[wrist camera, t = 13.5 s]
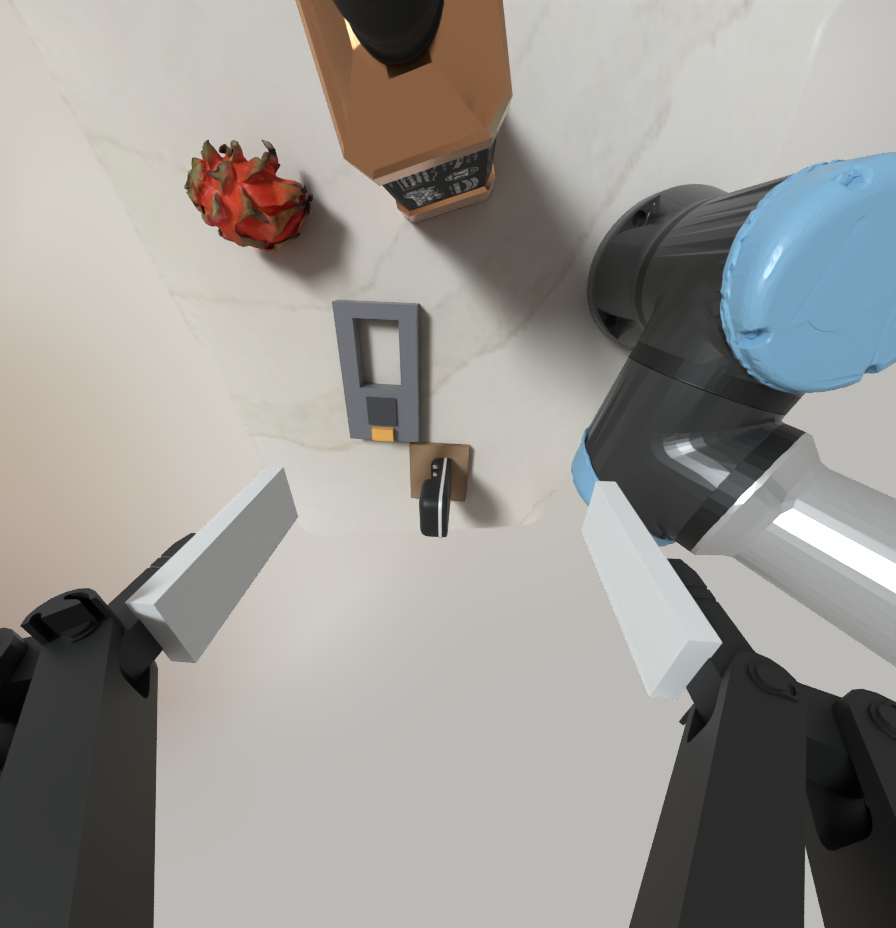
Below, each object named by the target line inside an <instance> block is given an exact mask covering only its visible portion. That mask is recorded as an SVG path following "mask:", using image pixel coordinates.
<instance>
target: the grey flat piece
mask: <svg viewBox="0 0 896 928" xmlns="http://www.w3.org/2000/svg"><path fill="white" fill-rule="evenodd" d="M332 305H333V312H334V319H335V327H336V334H337V342H338V349H339V356H340V364H341V371H342V379H343V386H344V394H345V401H346V408H347V416H348V423H349V431H350V438H355V439H372V440H376V441H406V442H419V439H420V361H419V304H417V303H395V302H373V301H351V300H336V301H332ZM357 318H363V319H384V320H399V344H400V369H401V385H388V384H369V383H364V378H363V368H362V358H361V348H360V339H359V329H358V319H357Z"/></svg>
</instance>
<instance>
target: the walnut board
mask: <svg viewBox="0 0 896 928" xmlns="http://www.w3.org/2000/svg"><path fill="white" fill-rule="evenodd" d="M409 446H410V480H411V498H420V492H421V486H422V484H423V482H424V481H425V480H426V479H431V463H432V461H433V460H434V459H437V458H450V459H451V461H452V464H451V498H450V500H453V501H465V498H466V485H467V473H468V460H469V445H462V444H445V443H428V442H410V444H409Z"/></svg>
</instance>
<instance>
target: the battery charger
mask: <svg viewBox="0 0 896 928" xmlns="http://www.w3.org/2000/svg"><path fill="white" fill-rule="evenodd" d="M451 464H452V461H451V459H450V458H437V459H434V460H433V461H432V463H431V479H426V480H425V481H424V482H423V484H422V486H421V492H420V500H419V510H420V529H421V532H422V534H423V535H425V536H431V537H439V538H442V537H446V536H447V532H448V521H449V510H450V498H451Z"/></svg>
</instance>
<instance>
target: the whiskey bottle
mask: <svg viewBox="0 0 896 928" xmlns="http://www.w3.org/2000/svg"><path fill="white" fill-rule="evenodd" d="M296 3H297V7H298V10H299V13H300V16H301V20H302V23H303V26H304V29H305V33H306V36H307V39H308V43H309V46H310V49H311V52H312V56H313V59H314V62H315V65H316V69H317V72H318V75H319V78H320V82H321V85H322V88H323V91H324V95H325V98H326V101H327V105H328V108H329V111H330V114H331V118H332V121H333V124H334V127H335V131H336V134H337V137H338V140H339V144H340V147H341V150H342V153H343V157H344V159H346V160H347V161H348V162H349V163H350V164H351V165H353V166H354V167H355V168H356V169H358V170H359V171H360V172H362V173H363V174H364V175H366V176H367V177H368V178H369V179H371V180H372V181H373V182H375V183H376V184H377V185H379V186H381V185H382V186H383V187H384V188H385V189H386V190H387V191H388V192H389V193H390V194H391V195H392V196H393V197H394V198H395V200H396V203H397V207H398V209H399V211H400V212H401V213H402V214H403V215H404V216H405V217H406V218H408V219H409V220H410V221H412V222H413V223H415V222H418V221H421V220H424V219H428V218H431V217H434V216H437V215H440V214H443V213H446V212H449V211H452V210H456V209H459V208H462V207H465V206H468V205H471V204H474V203H477V202H480V201H484V200H487V199H488V197H489V195H490V193H491V191H492V189H493V187H494V183H495V171H494V163H493V157H494V150H495V143H496V136H497V133H498V131H499V129H500V127H501V125H502V123H503V121H504V118H505V116H506V114H507V112H508V110H509V107H510V103H511V99H512V87H511V77H510V67H509V57H508V48H507V38H506V28H505V18H504V9H503V0H296Z"/></svg>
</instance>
